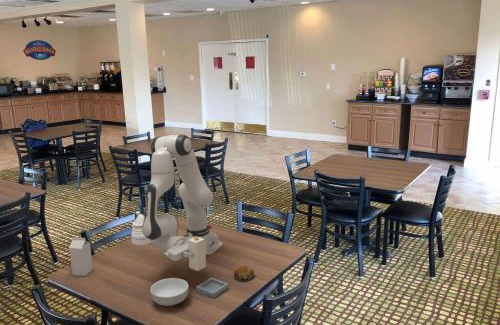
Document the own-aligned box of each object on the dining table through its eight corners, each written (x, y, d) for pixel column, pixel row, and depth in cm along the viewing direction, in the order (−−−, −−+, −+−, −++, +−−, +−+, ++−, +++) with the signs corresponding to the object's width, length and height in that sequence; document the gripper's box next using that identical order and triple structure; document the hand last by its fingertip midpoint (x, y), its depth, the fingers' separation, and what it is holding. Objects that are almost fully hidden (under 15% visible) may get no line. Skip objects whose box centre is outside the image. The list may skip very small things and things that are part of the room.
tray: (211, 282, 205) (211, 277, 204) (228, 288, 199) (228, 283, 198) (196, 291, 197) (196, 286, 196) (213, 298, 191) (213, 293, 190)
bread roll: (255, 281, 212) (257, 265, 213) (249, 282, 202) (251, 265, 204) (236, 279, 215) (238, 262, 216) (229, 279, 205) (231, 263, 207)
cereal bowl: (188, 310, 182) (187, 295, 180) (148, 313, 181) (147, 298, 179) (190, 290, 198) (189, 276, 197) (154, 292, 197) (153, 278, 196)
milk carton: (85, 276, 214) (80, 241, 209) (72, 275, 215) (68, 240, 211) (93, 269, 221) (89, 235, 216) (80, 268, 222) (76, 234, 218)
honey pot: (127, 243, 252) (124, 214, 248) (140, 235, 264) (137, 207, 260) (145, 246, 248) (143, 217, 244) (158, 237, 259) (155, 209, 255)
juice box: (197, 263, 204) (196, 233, 200) (206, 266, 201) (204, 236, 197) (189, 267, 200) (187, 237, 196) (197, 271, 196) (196, 240, 193)
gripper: (160, 247, 197) (181, 254, 189) (192, 233, 213) (212, 239, 205) (161, 259, 199) (182, 267, 190) (192, 244, 214) (213, 251, 206)
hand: (198, 252), depth 198 cm, fingers closed on juice box, 5 cm apart
